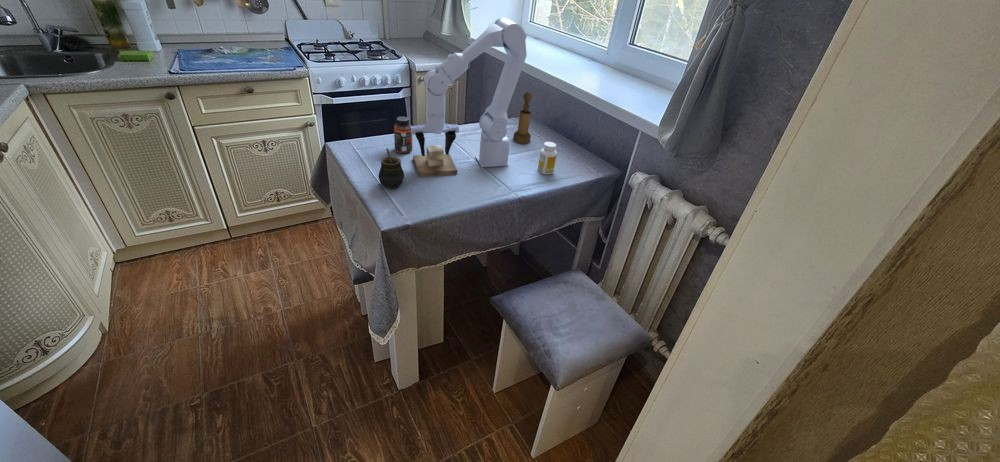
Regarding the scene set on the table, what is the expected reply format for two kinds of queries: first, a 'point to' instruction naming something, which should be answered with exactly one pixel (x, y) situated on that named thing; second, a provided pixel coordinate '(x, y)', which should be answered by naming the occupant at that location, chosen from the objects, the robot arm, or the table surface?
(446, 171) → the light brown wooden block
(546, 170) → the supplement bottle
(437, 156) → the maple cube
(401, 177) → the mate gourd
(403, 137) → the supplement bottle
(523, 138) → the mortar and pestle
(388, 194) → the table surface
